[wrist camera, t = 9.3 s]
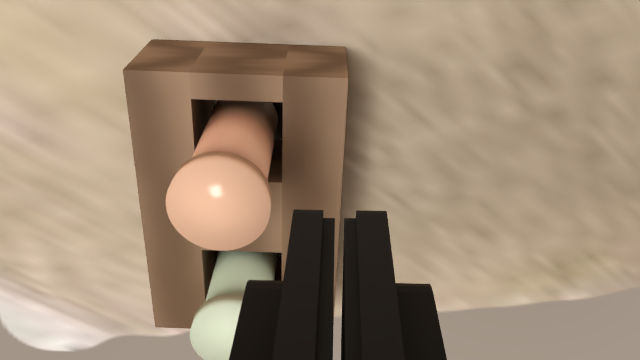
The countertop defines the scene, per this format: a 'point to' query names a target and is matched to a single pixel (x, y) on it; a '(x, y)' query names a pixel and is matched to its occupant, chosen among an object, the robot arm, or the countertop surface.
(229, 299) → the green plug
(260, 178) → the peach peg
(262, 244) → the socket block
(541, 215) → the countertop surface
